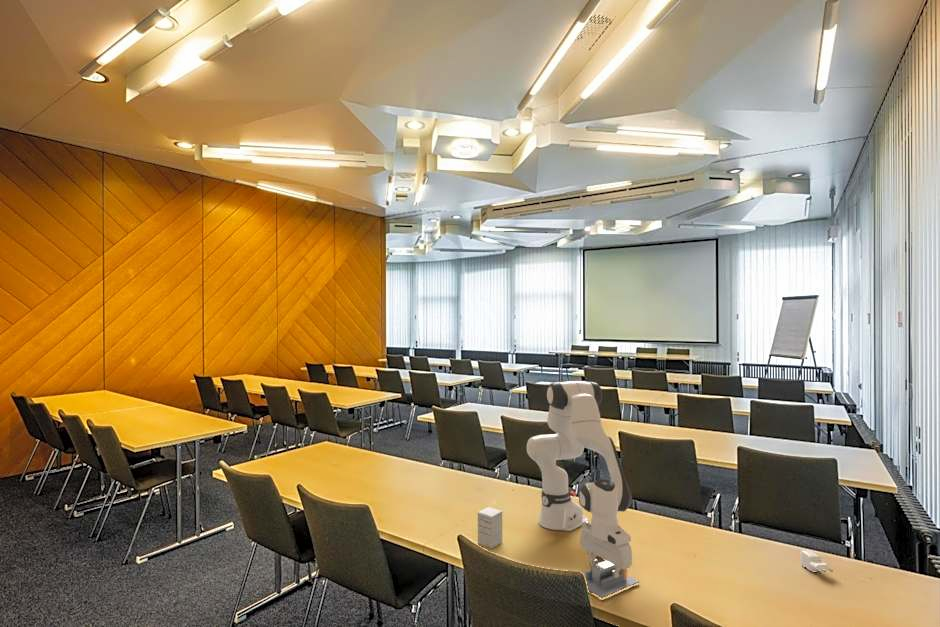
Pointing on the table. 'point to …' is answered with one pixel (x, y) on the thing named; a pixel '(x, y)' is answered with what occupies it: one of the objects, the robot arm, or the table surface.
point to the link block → (602, 571)
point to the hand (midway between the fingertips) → (604, 570)
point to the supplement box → (489, 527)
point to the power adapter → (813, 561)
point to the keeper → (609, 583)
